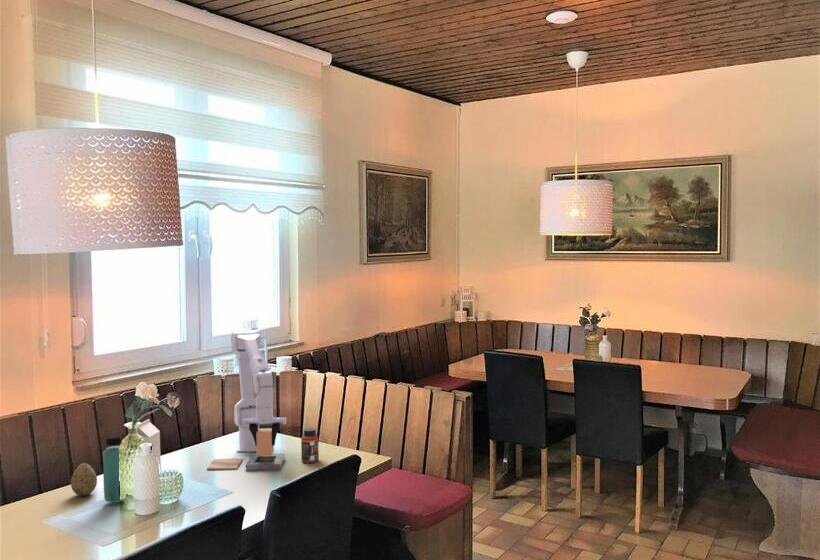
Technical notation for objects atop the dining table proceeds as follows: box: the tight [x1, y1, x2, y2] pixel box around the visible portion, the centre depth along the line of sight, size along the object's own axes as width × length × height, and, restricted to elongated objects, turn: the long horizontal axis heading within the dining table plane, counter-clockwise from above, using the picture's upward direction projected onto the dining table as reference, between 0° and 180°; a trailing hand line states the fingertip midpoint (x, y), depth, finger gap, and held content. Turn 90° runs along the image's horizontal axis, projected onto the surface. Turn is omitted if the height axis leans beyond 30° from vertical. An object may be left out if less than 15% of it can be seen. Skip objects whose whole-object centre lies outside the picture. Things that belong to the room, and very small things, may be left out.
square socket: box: [245, 453, 286, 472], centre depth 231 cm, size 12×12×2 cm
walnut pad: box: [206, 458, 244, 471], centre depth 231 cm, size 10×10×1 cm
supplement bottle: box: [300, 427, 320, 464], centre depth 235 cm, size 6×6×11 cm
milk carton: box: [138, 418, 162, 471], centre depth 218 cm, size 7×7×19 cm
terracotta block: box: [256, 427, 275, 456], centre depth 231 cm, size 5×5×8 cm
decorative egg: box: [70, 462, 98, 497], centre depth 204 cm, size 7×7×10 cm
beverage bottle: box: [102, 434, 122, 503], centre depth 198 cm, size 6×7×20 cm
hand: (265, 445), depth 231 cm, fingers closed on terracotta block, 5 cm apart
